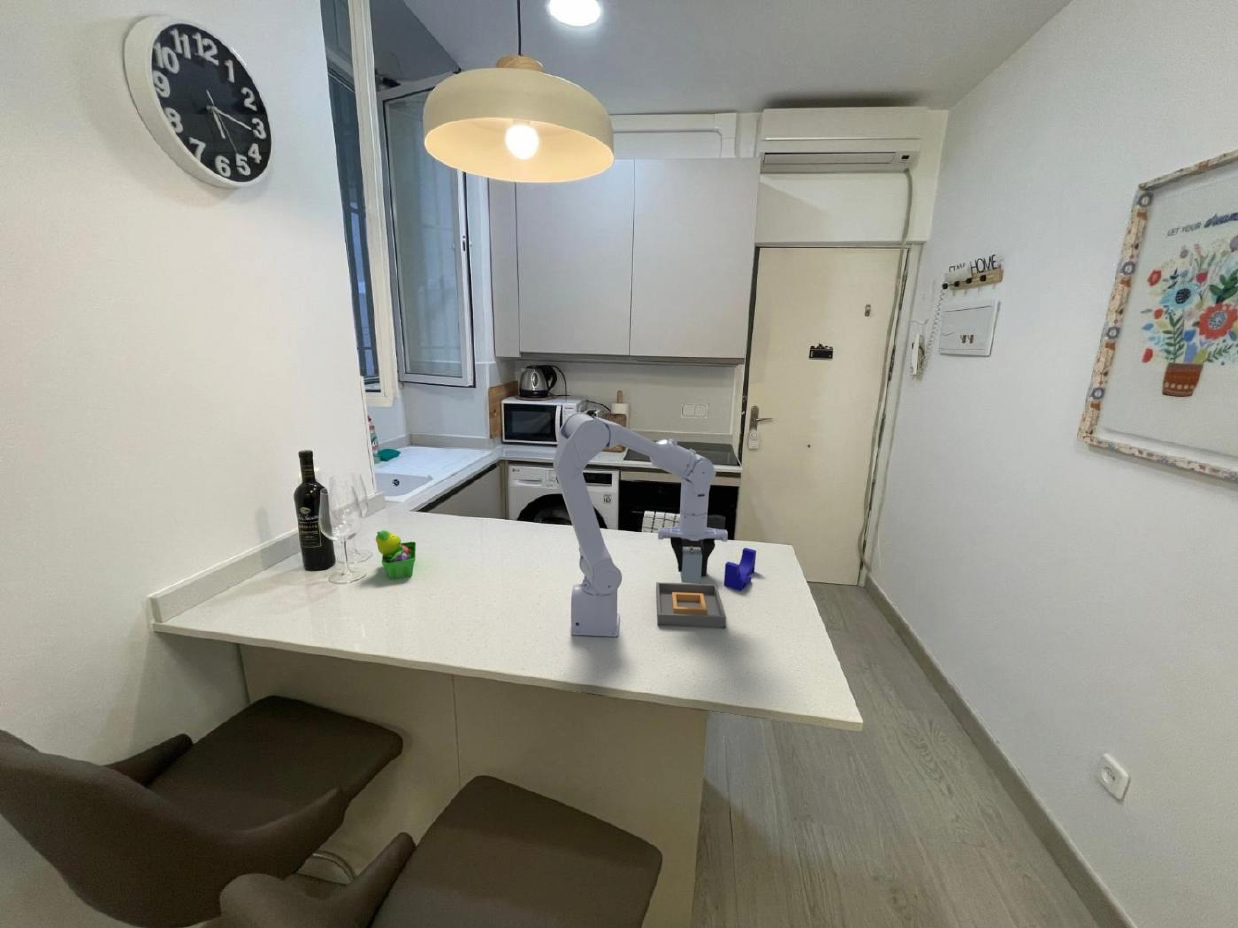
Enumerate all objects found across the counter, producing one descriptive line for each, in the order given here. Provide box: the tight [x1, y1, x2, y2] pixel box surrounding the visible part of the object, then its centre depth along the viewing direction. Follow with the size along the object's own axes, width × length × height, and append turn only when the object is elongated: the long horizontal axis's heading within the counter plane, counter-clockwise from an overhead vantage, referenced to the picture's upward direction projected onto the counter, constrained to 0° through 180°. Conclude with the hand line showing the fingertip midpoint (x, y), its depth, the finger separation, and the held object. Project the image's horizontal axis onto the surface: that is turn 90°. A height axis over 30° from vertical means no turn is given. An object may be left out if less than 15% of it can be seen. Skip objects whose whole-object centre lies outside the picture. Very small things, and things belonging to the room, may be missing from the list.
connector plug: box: [679, 546, 702, 584], centre depth 106 cm, size 4×4×7 cm
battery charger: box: [682, 539, 709, 577], centre depth 125 cm, size 7×4×11 cm, turn 73°
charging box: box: [655, 581, 727, 629], centre depth 109 cm, size 14×14×2 cm
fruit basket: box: [375, 529, 417, 580], centre depth 124 cm, size 11×9×11 cm
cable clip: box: [723, 547, 757, 592], centre depth 123 cm, size 12×4×6 cm, turn 144°
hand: (690, 570), depth 107 cm, fingers closed on connector plug, 4 cm apart
